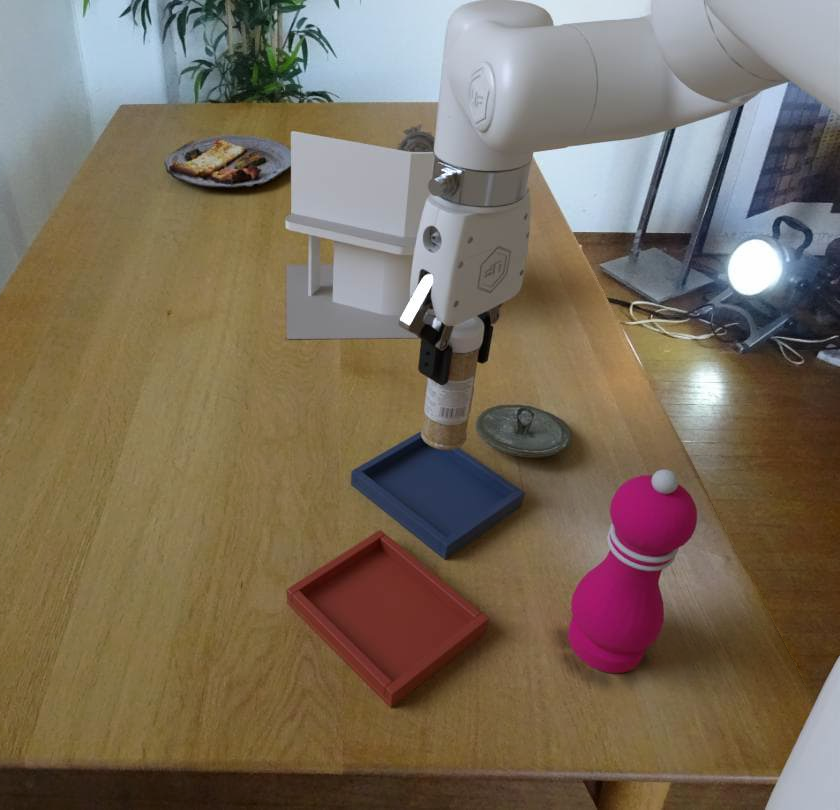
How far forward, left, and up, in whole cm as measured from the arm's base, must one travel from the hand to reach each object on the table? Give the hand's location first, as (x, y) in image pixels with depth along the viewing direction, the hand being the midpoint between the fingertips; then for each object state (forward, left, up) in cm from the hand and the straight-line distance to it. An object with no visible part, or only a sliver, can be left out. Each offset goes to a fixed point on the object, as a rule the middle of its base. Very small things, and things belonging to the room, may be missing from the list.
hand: (453, 365), depth 74 cm
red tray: (-8, +15, -17) cm, 24 cm away
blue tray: (0, 0, -17) cm, 17 cm away
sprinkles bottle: (0, 0, -9) cm, 9 cm away
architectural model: (+33, -24, -17) cm, 44 cm away
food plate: (+87, -35, -17) cm, 95 cm away
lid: (0, -14, -17) cm, 22 cm away
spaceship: (+63, -62, -17) cm, 90 cm away
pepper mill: (-22, +2, -17) cm, 28 cm away
